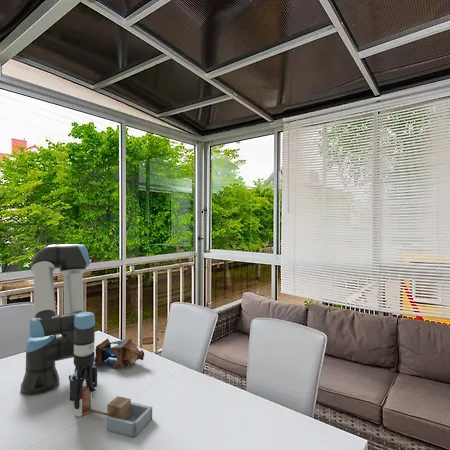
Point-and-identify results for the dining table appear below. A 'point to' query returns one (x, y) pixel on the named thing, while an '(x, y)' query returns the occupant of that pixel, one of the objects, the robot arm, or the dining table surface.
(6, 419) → the dining table surface
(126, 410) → the block and peg linkage
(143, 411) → the slate open-sided box
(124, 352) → the lantern
